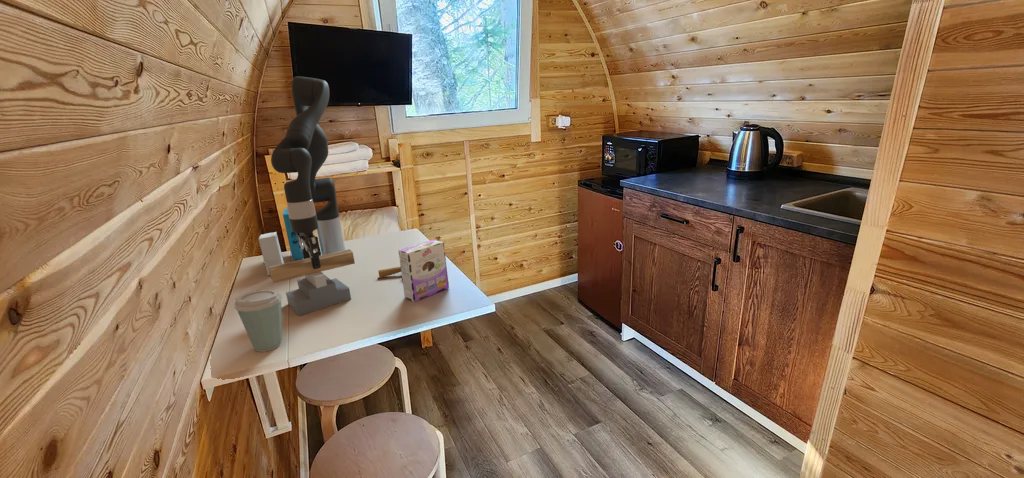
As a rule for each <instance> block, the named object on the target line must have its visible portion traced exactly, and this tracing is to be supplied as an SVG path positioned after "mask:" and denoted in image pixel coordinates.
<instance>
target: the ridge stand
mask: <svg viewBox="0 0 1024 478" xmlns="http://www.w3.org/2000/svg"><path fill="white" fill-rule="evenodd" d="M296 282H297V285H298V288H297V289H294V290H290V291H286V292H285V295H286V299H287V304H288V305H289V306H290V308H292V310H293V311H294V312H295V313H296V314H297V316H299V317H300V316H303V315H307V314H310V313H312V312H315V311H319V310H321V309H325V308H328V307H331V306H335V305H337V304H340V303H344V302H347V301H351V300H352V297H351V295H352V294H351V291H350V287H348V286H347V285H346V284H344V283H343V282H342V281H341V280H339V279H338V278H332V279H331V278H330V277H328V276H327V275H326V274H325V273H324V272H323V271H321V272H317V273H313V274H309V275H305V276H304V278H300V279H297V280H296Z"/></svg>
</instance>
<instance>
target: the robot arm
mask: <svg viewBox="0 0 1024 478" xmlns="http://www.w3.org/2000/svg"><path fill="white" fill-rule="evenodd" d="M291 81H292V82H291V95H292V101H293V105H294V106H293V107H294V112H295V114H296V116H295V117H294V118H293V119H292V120H291V121H290V122H289V125H288V128H287V130H286V134H285V137H283V139H281V140H280V142H279V143H278V144H277V145H276V147H274V149H273V152H271V153H272V154H271V157H270V161H271V167H272V168H273V169H274V170H275V171H276V172H278V173H280V174H292V173H295V174H296V173H297V178H296V179H293V180H289V181H287V182H285V183H284V185H283V189H284V190H283V191H284V194H285V199H286V205H287V207H286V209H288V214H289V219H290V224H291V229H292V231H293V232H294V233H296V234H297V239H298V244H299V248H301V251H303V257H304V259H307V258H311V262H312V267H313V269H318V268H320V267H321V265H320V260H319V256H320V255H325V254H330V253H334V252H339V251H343V250H346V248H345V243H344V242H345V241H344V237H343V231H342V230H343V229H342V224H341V218H340V214H339V207H338V200H337V192H336V185H335V182H334V180H333V179H332V178H331V177H323V178H316V176H317V174H318V172H319V170H320V169H321V168H322V166H323V165H324V163H325V162H326V161H327V158H328V156H329V144H328V136H327V135H326V133H325V132H324V129H322V127H321V126H320V125H319V124H318V123H319V122H320V120H321V118H322V116H323V115H324V113H325V111H326V109H327V106H328V104H329V101H330V87H329V84H328V82H327V81H326V80H324V79H320V78H314V77H307V76H301V75H300V76H299V75H298V76H297V75H296V76H294V77H293V79H292V80H291ZM324 202H327V204H325V205H324V206H323V207H322V208H320V209H318V210H316V205H315V204H316V203H324ZM314 231H317V235H315V234H314ZM314 251H315V252H314Z"/></svg>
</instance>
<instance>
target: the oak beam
mask: <svg viewBox="0 0 1024 478" xmlns="http://www.w3.org/2000/svg"><path fill="white" fill-rule="evenodd" d="M319 260H320V265H321V267H320V268H318V269H313V267H312V262H311V258H307V259H299V260H292V261H289V262H284V264H279V265H275V266H270V267H269V270H270V274H271V275H270V278H271V281H272V283H273V284H274V283H279V282H283V281H287V280H291V279H292V280H293V279H295V278H299V277H300V278H301V277H305V275H309V274H313V273H317V272H325V271H329V270H333V269H338V268H341V267H342V268H343V267H346V266H350V265H355V263H356V262H355V256H354V252H353V251H352V250H351V249H349V248H348V249H345V250H343V251H339V252H334V253H330V254H325V255H322V254H321V255H320V256H319Z"/></svg>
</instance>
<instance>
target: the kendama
mask: <svg viewBox="0 0 1024 478" xmlns="http://www.w3.org/2000/svg"><path fill="white" fill-rule="evenodd" d="M398 273H402V272H401V266H396V267H391V268H390V267H389V268H384V269H379V270H378V276H379V278H380V279H382V278H385V277H389V276H392V275H395V274H398Z"/></svg>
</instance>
